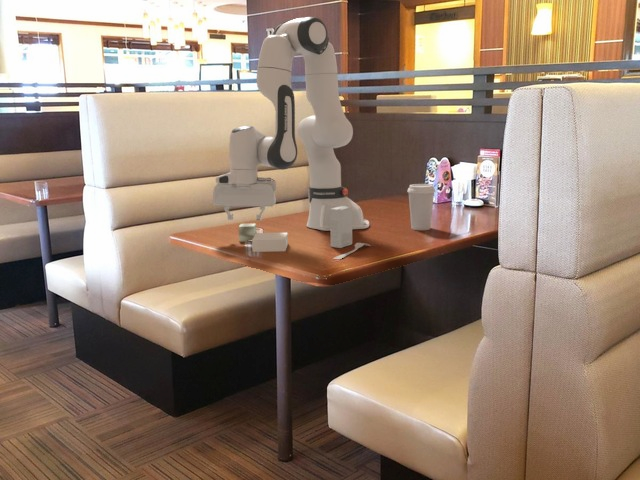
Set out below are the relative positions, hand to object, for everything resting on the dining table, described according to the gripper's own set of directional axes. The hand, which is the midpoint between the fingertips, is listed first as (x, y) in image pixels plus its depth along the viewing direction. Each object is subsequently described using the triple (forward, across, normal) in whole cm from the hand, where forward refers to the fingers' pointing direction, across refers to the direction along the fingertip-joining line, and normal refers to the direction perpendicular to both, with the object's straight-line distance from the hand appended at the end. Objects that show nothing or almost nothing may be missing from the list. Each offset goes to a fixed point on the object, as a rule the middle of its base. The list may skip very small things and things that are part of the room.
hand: (244, 219), depth 208 cm
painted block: (+7, -10, +11) cm, 17 cm away
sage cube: (+7, -1, -1) cm, 7 cm away
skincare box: (+6, -32, +10) cm, 34 cm away
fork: (+7, -35, +19) cm, 41 cm away
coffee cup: (+5, -59, -15) cm, 61 cm away
